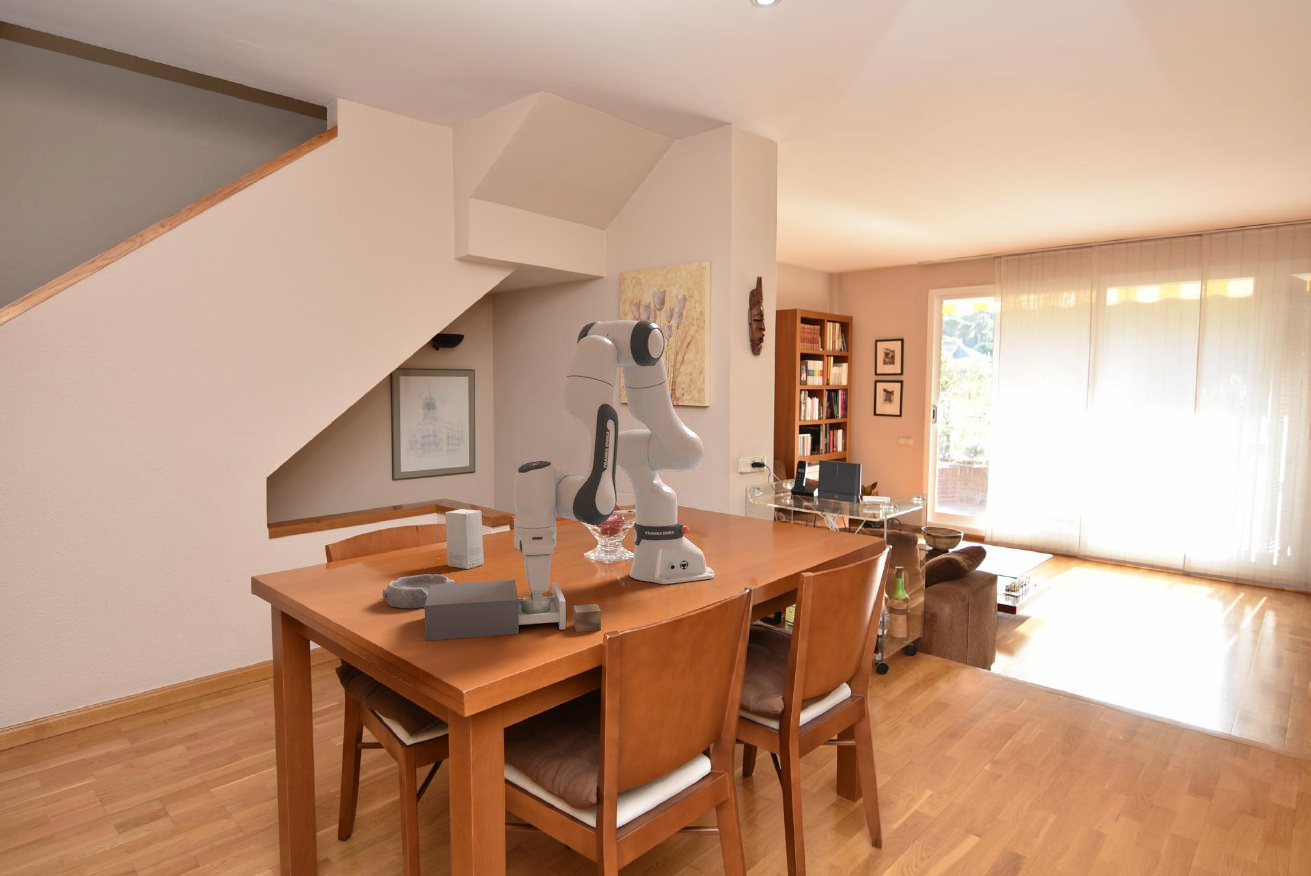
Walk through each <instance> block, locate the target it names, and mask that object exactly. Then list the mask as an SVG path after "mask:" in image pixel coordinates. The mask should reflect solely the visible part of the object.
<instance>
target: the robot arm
mask: <svg viewBox="0 0 1311 876" xmlns="http://www.w3.org/2000/svg"><path fill="white" fill-rule="evenodd" d="M664 336H665V335H664V333H663V331H662V330H661V329H660V327H659V325H658V324H656V323H654V322H652V321H647V320H643V319H642V320H634V319H632V320H631V319H617V320H610V321H609V320H608V321H594V322H590V323H587V324H586V325H584V326H583V327H582V328H581V330H580V331H579V334H578V337H577V342H576V347H575V349H574V351H573V355H572V357H571V360H570V363H569V366H568V369H567V373H566V377H565V381H564V386H563V393H562V404H563V405H564V408H565V410H566V411H567V412H568V414H569V415H570V416H571V417H572V418H573V419H574V420H576V421H578V422H579V423H581V424H582V425H584V427H586V429H587V430H588V432H589V435H590V450H589V461H588V472H587V474H586V475H585V476H583V475H575V474H569V473H568V472H564V471H562V470H561V469H558V468H556V467H555V466H554V465H553V463H552V462H550V461H547V460H537V461H530V462H527V463H524V464H522V465H520V466H519V467H518V468H517V470H516V473H515V475H514V476H515V478H514V485H513V486H514V487H513V507H514V510H515V519H514V522H513V523H514V524H513V536H514V537H513V542H514V543H513V544H514V546H513V547H514V548H515V549H517V550H519V551H520V555H521V556H522V557H523V559H524V572H525V575H526V580H527V583H528V589H529V595H530V597H533V608H534V609H541V608H542V597H544V595H543V594H544V593H547V592H548V590H549V586H550V578H551V577H550V576H551V566H552V565H551V564H552V555H553V554H554V553H555V547H556V546H557V520H556V519H557V518H562V519H563V518H564V519H566V520H572V521H577V522H581V523H584V524H587V525H590V526H600V525H601V524H604V523H605V522H607V520H608V519H609V518H610V517H611V516H612V515H613V513H614V512H615V509H616V506H617V502H618V501H617V500H618V498H617V497H618V496H617V488H616V487H617V486H616V485H617V484H616V472H617V471H616V470H617V466H618V467H619V469H621V470H622V471H623V472H624V474H625V475H626V476H627V478H628V479H629V482H630V485H631V487H632V489H633V493H634V494H633V495H634V502H635V503H634V505H635V522H634V523H633V543H634V550H633V551H634V553H633V559H632V564H631V568H630V571H629V577H630V578H633V579H635V580H638V581H643V582H651V583H656V584H660V585H669V584H677V583H686V582H693V581H702V580H712V579H714V578H715V571H714V570H713V569H712V568H711V567H709V566H708V565H707V564H706V563H707V562H706V558H705V555H704V552H703V551H702V550H701V549H700V548H699V547H698V546H697V545H695V544H694V543H693V542H692V541H691V540H689V539H688V538H686V536H685V535H688V534H689V533H690V531H691V530H690V527H689V526H687V525H684V524H681V523H679V522H678V496H677V494H676V491H675V490H674V489H673V488H672V487H670V486H669V485H667V484H666V483H664V482H663V481H662V478H660V474H659V472H668V473H672V472H673V473H682V472H689V471H694V470H696V469H697V468H699V466H700V465H701V463H702V461H703V459H704V456H705V455H704V454H705V447H704V443H703V441H702V439H701V438H700V435H698V434H697V433H696V432H694V431H692V430H691V429H689V427H687V425H685V424H684V423H683V421H682V420H681V419H680V416H679V415H678V414H677V412H676V411H675V408H674V405H673V402H672V396H671V392H670V388H669V386H670V385H669V381H668V380H669V379H668V374H667V368H666V365H665V361H664V356H663V353H664V350H665V345H666V344H665V337H664ZM617 368H622V375H623V383H624V390H625V395H626V396H625V397H626V403H627V407H628V412H630V413H629V414H630V415H631V416H632V417H633V418H634V419H635V420H637V421H639V422H640V423H642V424H643V425H645V427H646V428H648V429H645V428H644V429H641V428H638V429H637V428H634V429H629V430H624V431H619V417H618V416H619V415H618V412H617V410H616V409H615V408H614V403H613V402H614V401H613V400H614V399H613V397H614V390H615V384H616V378H617V371H618V370H617Z"/></svg>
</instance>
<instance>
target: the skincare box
mask: <svg viewBox="0 0 1311 876" xmlns="http://www.w3.org/2000/svg"><path fill="white" fill-rule="evenodd" d="M444 514H445V530H446V531H445V533H446V552H447V567H453V568H459V569H466V570H469V569H473V568H477V567H480V566H484V544H483V543H484V541H483V540H484V539H483V522H482V521H483V519H482V510H475V509H463V508H461V509H455V510H451V511H446V512H444Z"/></svg>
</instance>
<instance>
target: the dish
mask: <svg viewBox="0 0 1311 876" xmlns="http://www.w3.org/2000/svg"><path fill="white" fill-rule="evenodd" d="M448 583H455V580H454V579H450V578H449V577H447V576H445V575H442V574H436V573H435V574H429V573H428V574H419V575H418V574H417V575H412V576H403V577H398V578H397V579H396V580H391V581H390V582H389V583H388V584H387V587H384V588H383V589H382V597H383V599H385V600H386V603H387V605H389V606H390V607H392V608H399V609H419V608H421V609H422V608H425V602H426V599H427V595H428V592H429V588H430V584H448Z"/></svg>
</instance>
